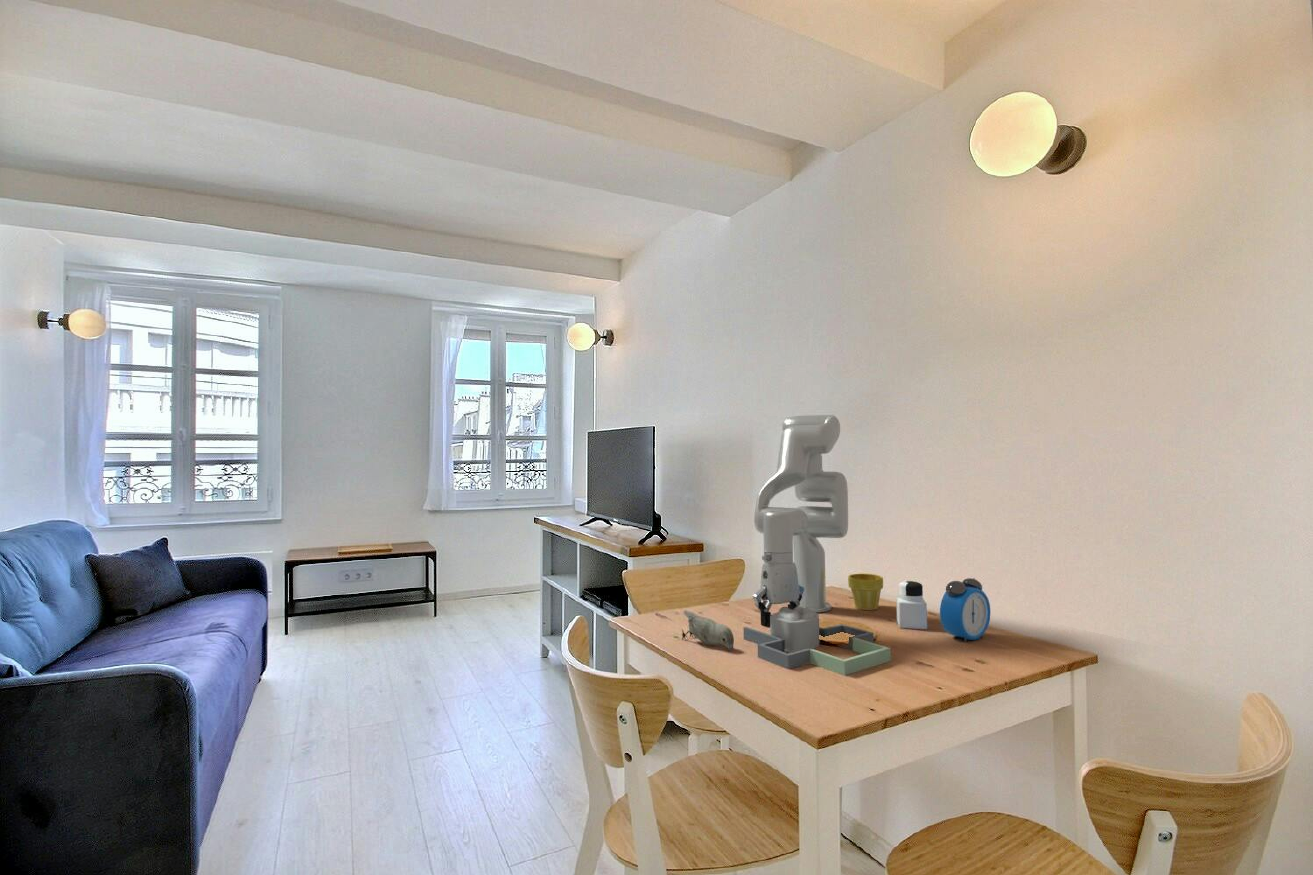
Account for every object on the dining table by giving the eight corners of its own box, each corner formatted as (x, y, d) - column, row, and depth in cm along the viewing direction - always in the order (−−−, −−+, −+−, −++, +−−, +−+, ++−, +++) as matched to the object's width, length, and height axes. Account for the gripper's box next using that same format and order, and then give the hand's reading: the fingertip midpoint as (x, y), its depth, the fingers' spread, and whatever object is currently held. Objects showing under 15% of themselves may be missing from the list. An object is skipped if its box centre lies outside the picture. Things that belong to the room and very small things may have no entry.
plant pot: (842, 608, 194) (841, 576, 194) (858, 602, 201) (857, 571, 201) (874, 613, 186) (873, 581, 187) (889, 607, 194) (888, 575, 194)
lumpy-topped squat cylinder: (764, 643, 159) (764, 609, 159) (796, 633, 167) (795, 601, 167) (798, 653, 151) (797, 617, 151) (829, 642, 159) (829, 608, 159)
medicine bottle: (923, 622, 176) (922, 580, 176) (927, 629, 169) (926, 585, 170) (896, 621, 178) (895, 579, 178) (899, 628, 171) (898, 584, 172)
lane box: (723, 643, 160) (722, 631, 160) (805, 624, 176) (805, 613, 176) (822, 682, 132) (822, 668, 132) (909, 655, 149) (908, 642, 149)
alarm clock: (960, 644, 156) (959, 584, 156) (938, 638, 161) (937, 580, 162) (992, 636, 162) (990, 578, 163) (969, 630, 168) (968, 574, 168)
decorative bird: (725, 654, 152) (724, 623, 152) (678, 640, 163) (677, 612, 164) (739, 649, 155) (738, 619, 156) (692, 636, 167) (692, 608, 167)
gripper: (763, 563, 156) (764, 632, 156) (812, 556, 165) (813, 621, 165) (743, 559, 162) (745, 625, 162) (791, 552, 172) (793, 615, 171)
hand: (779, 623), depth 163 cm, fingers open, 9 cm apart
